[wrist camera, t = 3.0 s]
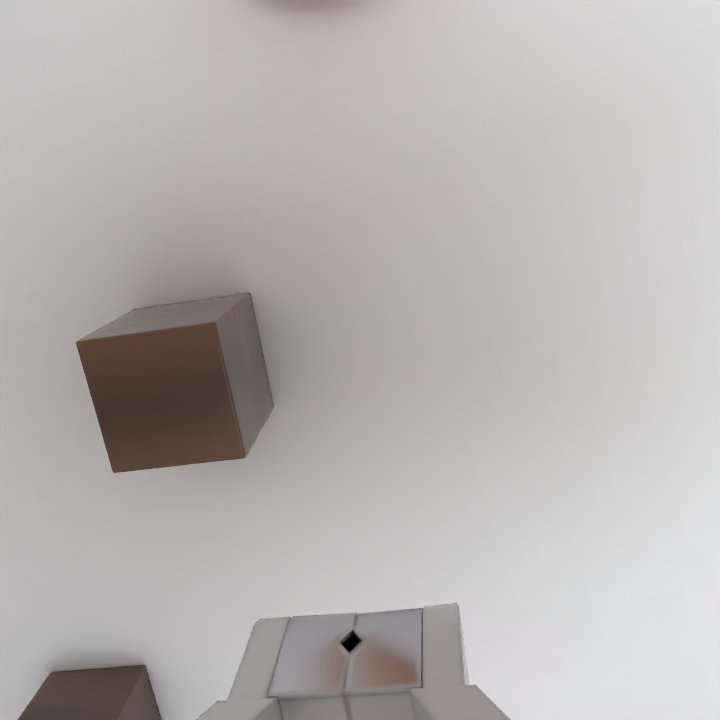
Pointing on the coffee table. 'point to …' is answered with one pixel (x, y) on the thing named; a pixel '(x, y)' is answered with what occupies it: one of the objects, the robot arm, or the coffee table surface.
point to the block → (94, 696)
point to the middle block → (178, 383)
